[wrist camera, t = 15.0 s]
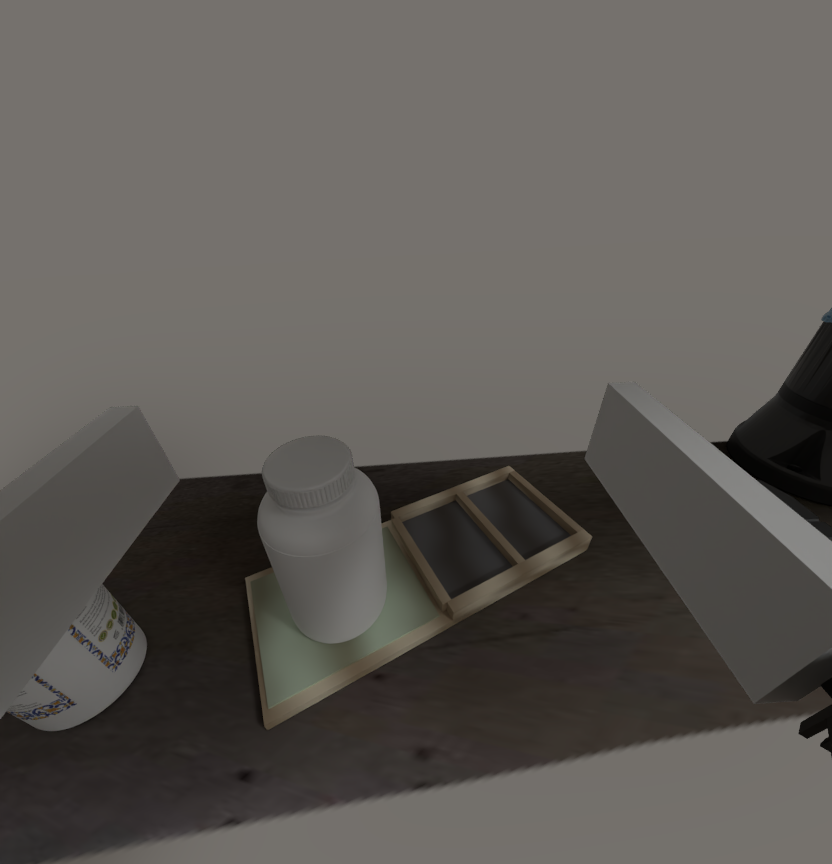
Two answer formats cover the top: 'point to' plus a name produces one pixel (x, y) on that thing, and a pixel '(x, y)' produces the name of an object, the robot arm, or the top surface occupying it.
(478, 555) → the tray
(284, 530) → the pill bottle
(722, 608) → the robot arm
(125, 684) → the bath foam
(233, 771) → the top surface
